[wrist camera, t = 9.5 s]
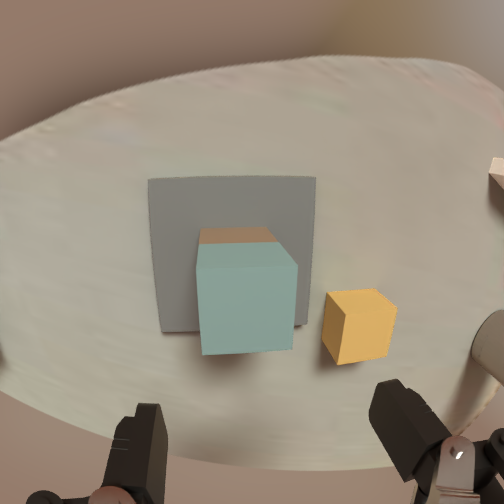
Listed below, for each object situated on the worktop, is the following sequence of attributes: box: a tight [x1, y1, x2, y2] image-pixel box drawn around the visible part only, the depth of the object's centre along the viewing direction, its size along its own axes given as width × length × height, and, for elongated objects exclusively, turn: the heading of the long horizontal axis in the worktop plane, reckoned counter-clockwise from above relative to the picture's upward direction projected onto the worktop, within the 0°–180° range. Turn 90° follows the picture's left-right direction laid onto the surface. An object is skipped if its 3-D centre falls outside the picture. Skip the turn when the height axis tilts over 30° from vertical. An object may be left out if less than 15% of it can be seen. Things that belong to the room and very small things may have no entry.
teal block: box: [196, 242, 298, 355], centre depth 20 cm, size 6×6×5 cm
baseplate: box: [148, 176, 316, 332], centre depth 25 cm, size 14×14×6 cm
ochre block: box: [321, 288, 398, 365], centre depth 29 cm, size 6×6×5 cm
